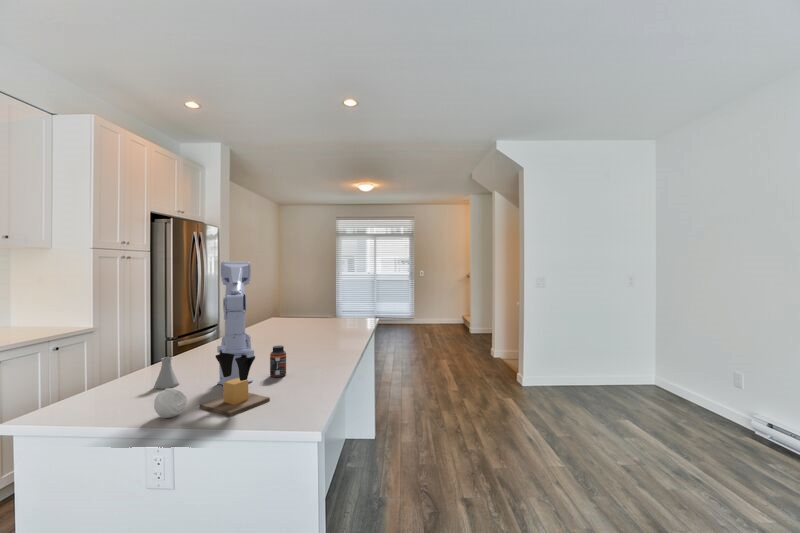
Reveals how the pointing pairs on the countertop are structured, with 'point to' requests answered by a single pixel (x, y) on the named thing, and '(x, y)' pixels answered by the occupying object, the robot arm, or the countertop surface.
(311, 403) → the countertop surface
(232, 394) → the golden yellow cube
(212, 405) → the flat brown square board
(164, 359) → the flask
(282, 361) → the supplement bottle
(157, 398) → the white ridged ball
